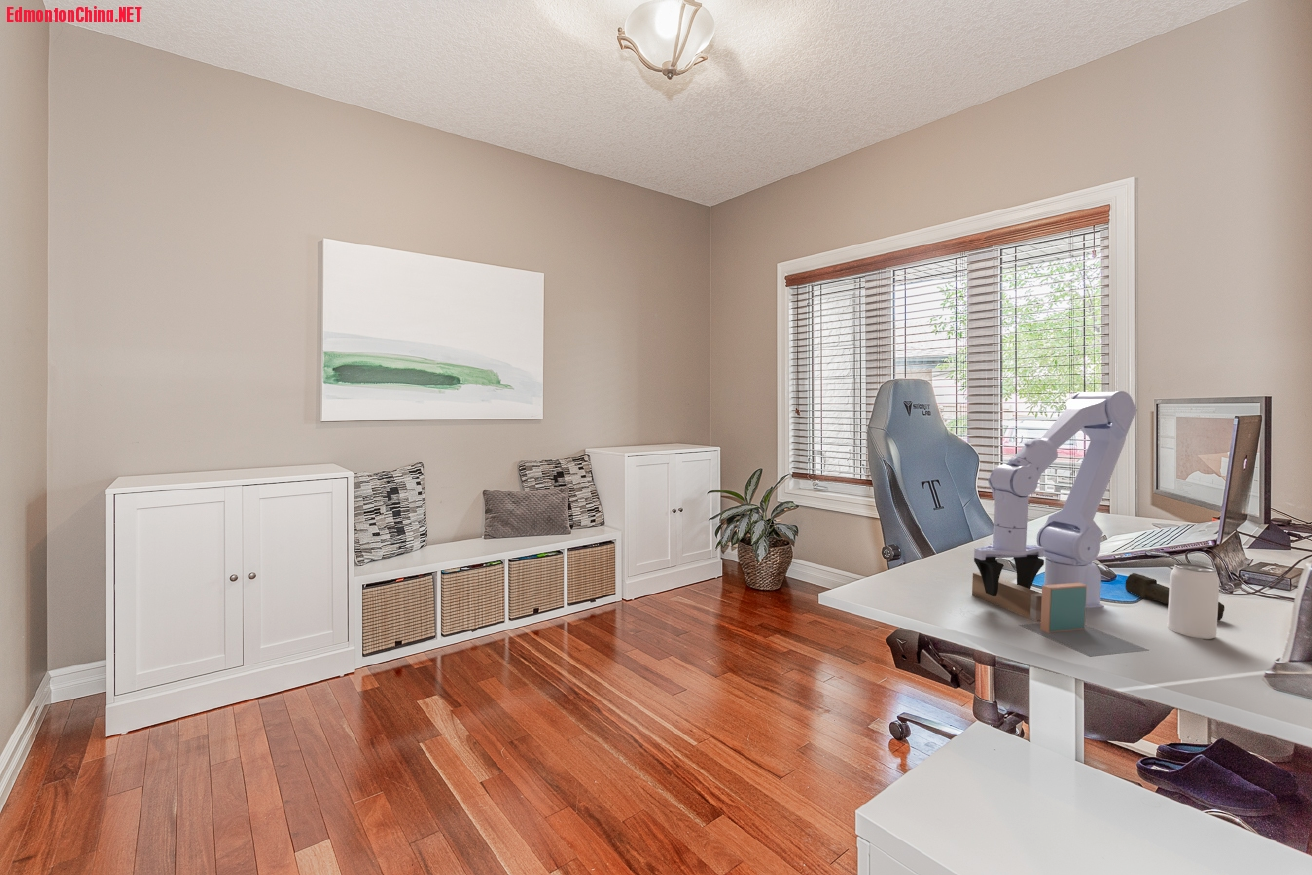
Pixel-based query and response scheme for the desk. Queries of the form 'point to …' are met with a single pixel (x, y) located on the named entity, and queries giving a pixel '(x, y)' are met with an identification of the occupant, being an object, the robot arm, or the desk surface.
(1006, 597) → the wooden plank
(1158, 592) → the hand tool
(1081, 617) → the tile
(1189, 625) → the can
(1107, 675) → the desk surface
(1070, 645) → the mat
